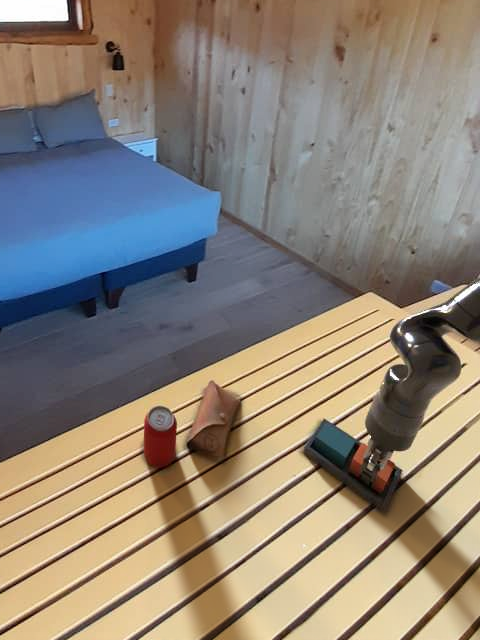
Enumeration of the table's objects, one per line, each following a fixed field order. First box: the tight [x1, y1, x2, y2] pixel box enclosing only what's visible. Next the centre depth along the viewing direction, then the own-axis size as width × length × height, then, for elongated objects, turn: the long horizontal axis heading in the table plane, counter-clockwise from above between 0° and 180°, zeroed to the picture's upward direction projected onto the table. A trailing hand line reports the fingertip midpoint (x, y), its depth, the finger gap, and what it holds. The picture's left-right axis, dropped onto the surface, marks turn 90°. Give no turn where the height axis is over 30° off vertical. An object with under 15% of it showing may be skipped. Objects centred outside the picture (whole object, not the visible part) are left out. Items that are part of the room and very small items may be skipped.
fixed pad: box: [313, 422, 355, 469], centre depth 85 cm, size 6×5×4 cm
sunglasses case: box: [186, 379, 241, 460], centre depth 92 cm, size 18×7×7 cm, turn 154°
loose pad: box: [349, 442, 396, 494], centre depth 80 cm, size 6×5×4 cm
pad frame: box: [302, 418, 404, 513], centre depth 83 cm, size 16×10×3 cm, turn 43°
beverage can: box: [143, 405, 178, 468], centre depth 84 cm, size 7×7×12 cm
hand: (370, 471), depth 80 cm, fingers closed on loose pad, 5 cm apart
